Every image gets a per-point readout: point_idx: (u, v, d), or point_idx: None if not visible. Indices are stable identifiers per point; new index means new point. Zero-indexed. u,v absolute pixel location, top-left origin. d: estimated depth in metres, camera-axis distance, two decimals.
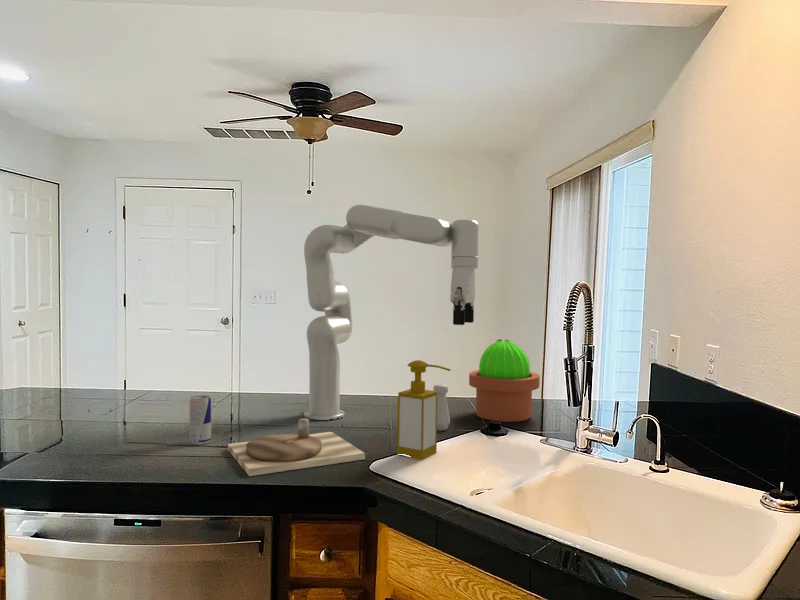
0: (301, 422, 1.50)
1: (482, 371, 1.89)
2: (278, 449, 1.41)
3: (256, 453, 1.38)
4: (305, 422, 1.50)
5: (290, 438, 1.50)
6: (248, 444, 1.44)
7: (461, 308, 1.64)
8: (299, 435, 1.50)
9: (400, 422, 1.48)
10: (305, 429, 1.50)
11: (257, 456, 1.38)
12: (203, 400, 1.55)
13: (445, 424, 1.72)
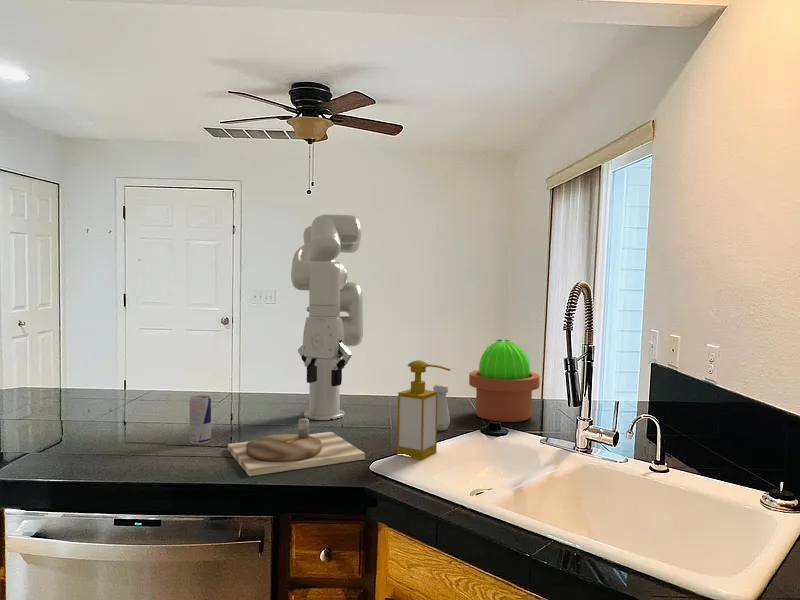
0: (301, 422, 1.50)
1: (482, 371, 1.89)
2: (278, 449, 1.41)
3: (256, 453, 1.38)
4: (305, 422, 1.50)
5: (290, 438, 1.50)
6: (248, 444, 1.44)
7: (343, 367, 1.45)
8: (299, 435, 1.50)
9: (400, 422, 1.48)
10: (305, 429, 1.50)
11: (257, 456, 1.38)
12: (203, 400, 1.55)
13: (445, 424, 1.72)
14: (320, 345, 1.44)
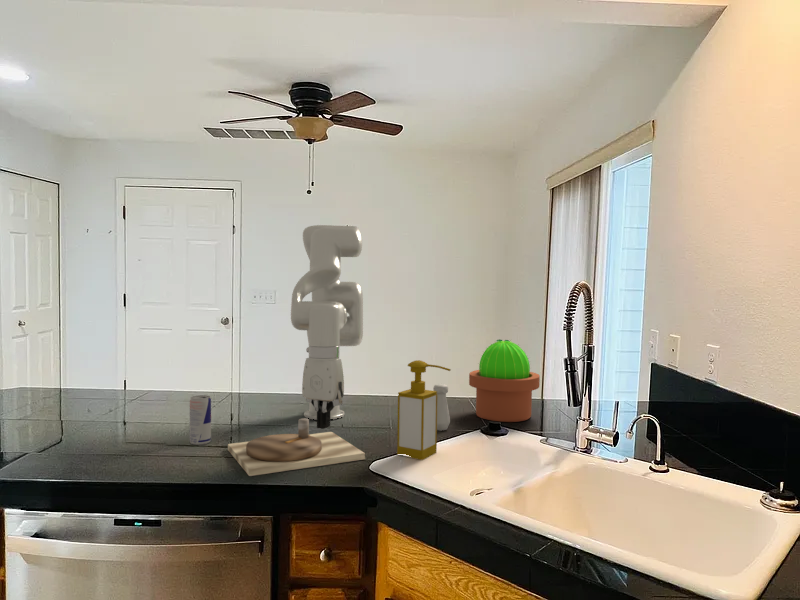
0: (301, 422, 1.50)
1: (482, 371, 1.89)
2: (278, 449, 1.41)
3: (256, 453, 1.38)
4: (305, 422, 1.50)
5: (290, 438, 1.50)
6: (248, 444, 1.44)
7: (331, 410, 1.47)
8: (299, 435, 1.50)
9: (400, 422, 1.48)
10: (305, 429, 1.50)
11: (257, 456, 1.38)
12: (203, 400, 1.55)
13: (445, 424, 1.72)
14: (320, 387, 1.44)
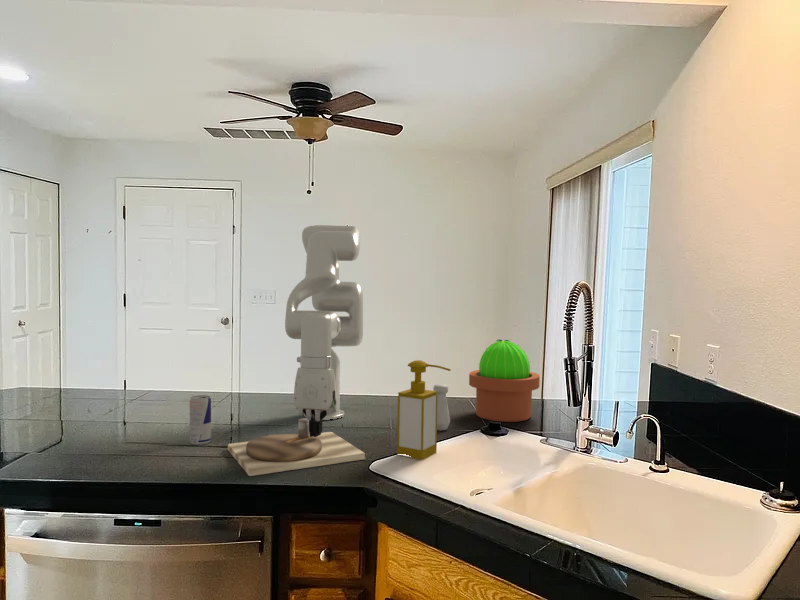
0: (301, 422, 1.50)
1: (482, 371, 1.89)
2: (278, 449, 1.41)
3: (256, 453, 1.38)
4: (305, 422, 1.50)
5: (290, 438, 1.50)
6: (248, 444, 1.44)
7: (323, 418, 1.50)
8: (299, 435, 1.50)
9: (400, 422, 1.48)
10: (305, 429, 1.50)
11: (257, 456, 1.38)
12: (203, 400, 1.55)
13: (445, 424, 1.72)
14: (314, 396, 1.46)
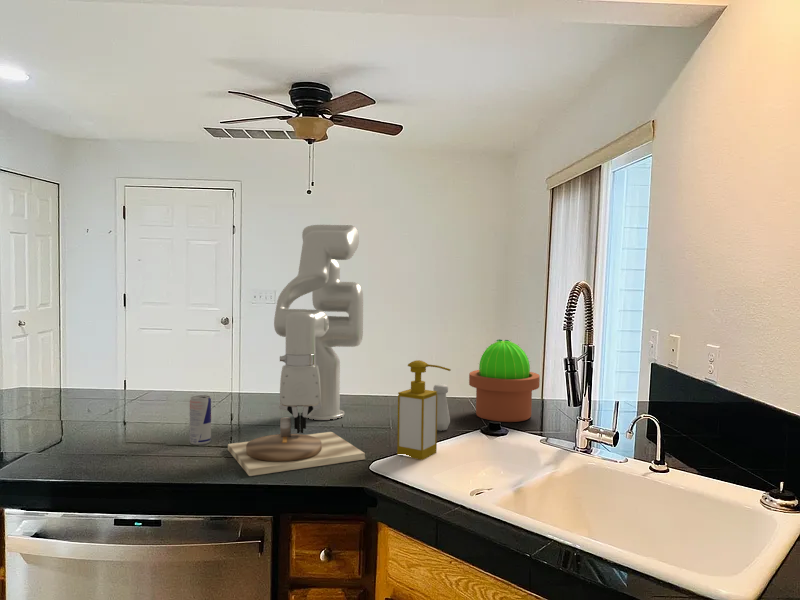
0: (286, 421, 1.51)
1: (482, 371, 1.89)
2: (292, 448, 1.42)
3: (281, 455, 1.37)
4: (290, 420, 1.52)
5: (277, 439, 1.49)
6: (254, 450, 1.39)
7: None
8: (284, 434, 1.51)
9: (400, 422, 1.48)
10: (290, 428, 1.52)
11: (282, 458, 1.37)
12: (203, 400, 1.55)
13: (445, 424, 1.72)
14: (304, 393, 1.50)
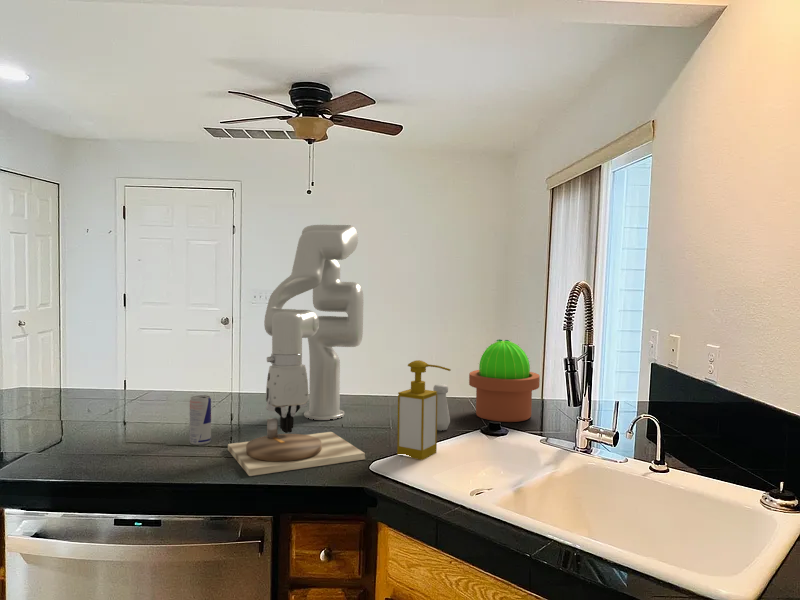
0: (275, 421, 1.50)
1: (482, 371, 1.89)
2: (299, 446, 1.43)
3: (299, 454, 1.38)
4: (277, 421, 1.51)
5: (269, 440, 1.48)
6: (268, 453, 1.37)
7: None
8: (273, 435, 1.50)
9: (400, 422, 1.48)
10: (277, 428, 1.51)
11: (301, 456, 1.38)
12: (203, 400, 1.55)
13: (445, 424, 1.72)
14: (294, 392, 1.51)
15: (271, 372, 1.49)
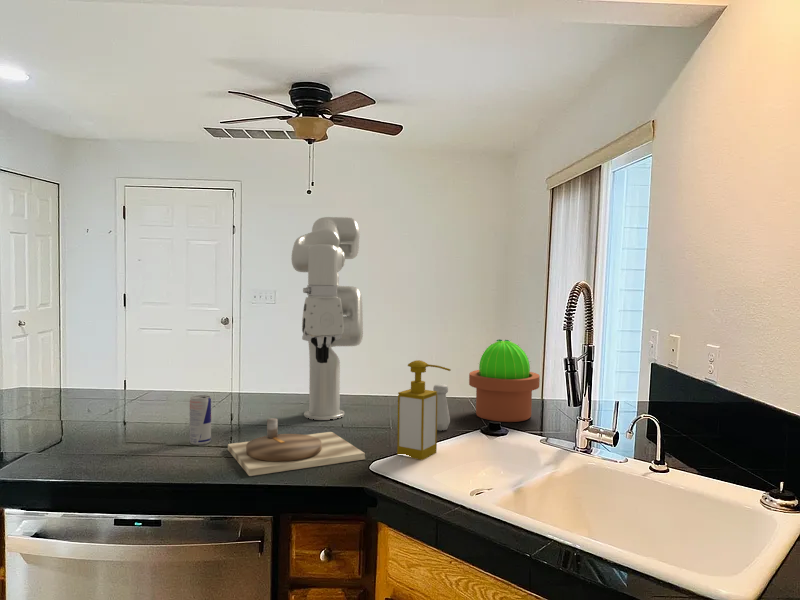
0: (275, 421, 1.50)
1: (482, 371, 1.89)
2: (299, 446, 1.43)
3: (300, 454, 1.38)
4: (277, 421, 1.51)
5: (269, 440, 1.48)
6: (268, 453, 1.37)
7: None
8: (273, 435, 1.50)
9: (400, 422, 1.48)
10: (277, 428, 1.51)
11: (301, 456, 1.38)
12: (203, 400, 1.55)
13: (445, 424, 1.72)
14: (330, 323, 1.53)
15: (308, 302, 1.51)
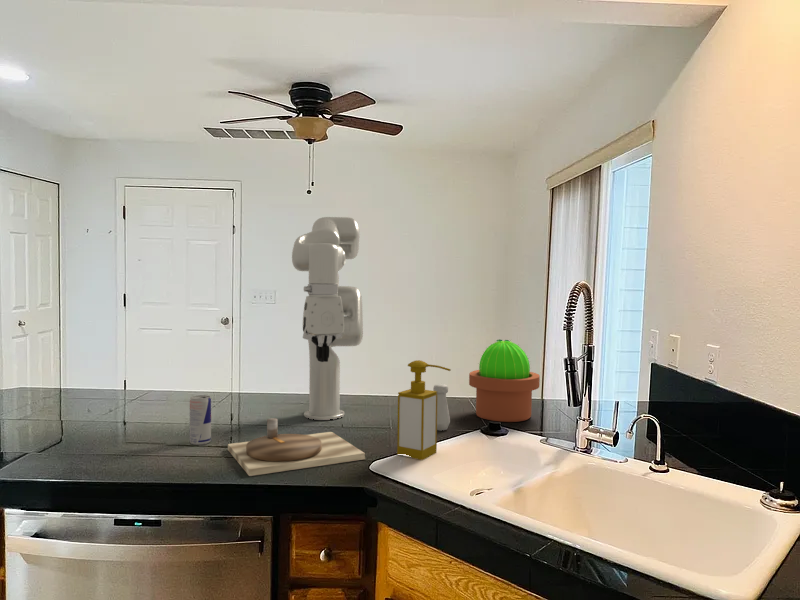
0: (275, 421, 1.50)
1: (482, 371, 1.89)
2: (299, 446, 1.43)
3: (300, 454, 1.38)
4: (277, 421, 1.51)
5: (269, 440, 1.48)
6: (268, 453, 1.37)
7: None
8: (273, 435, 1.50)
9: (400, 422, 1.48)
10: (277, 428, 1.51)
11: (301, 456, 1.38)
12: (203, 400, 1.55)
13: (445, 424, 1.72)
14: (331, 322, 1.53)
15: (308, 301, 1.51)
